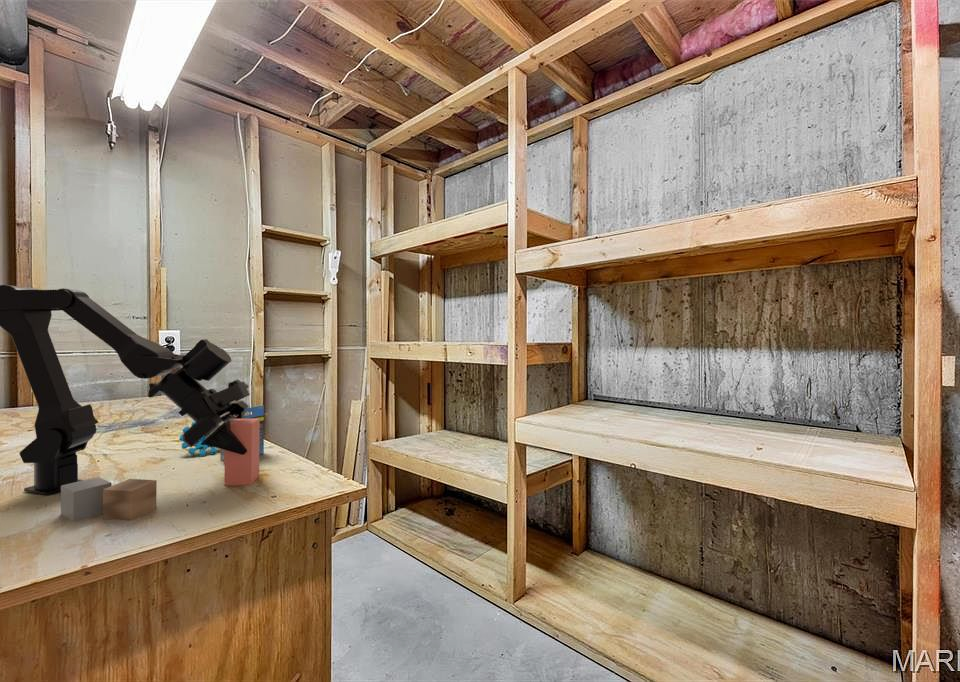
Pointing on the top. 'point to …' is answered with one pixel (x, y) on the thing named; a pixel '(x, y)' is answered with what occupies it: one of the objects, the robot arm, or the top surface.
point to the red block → (246, 465)
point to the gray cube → (83, 498)
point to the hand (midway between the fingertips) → (249, 449)
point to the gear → (198, 446)
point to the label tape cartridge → (259, 413)
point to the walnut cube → (129, 499)
